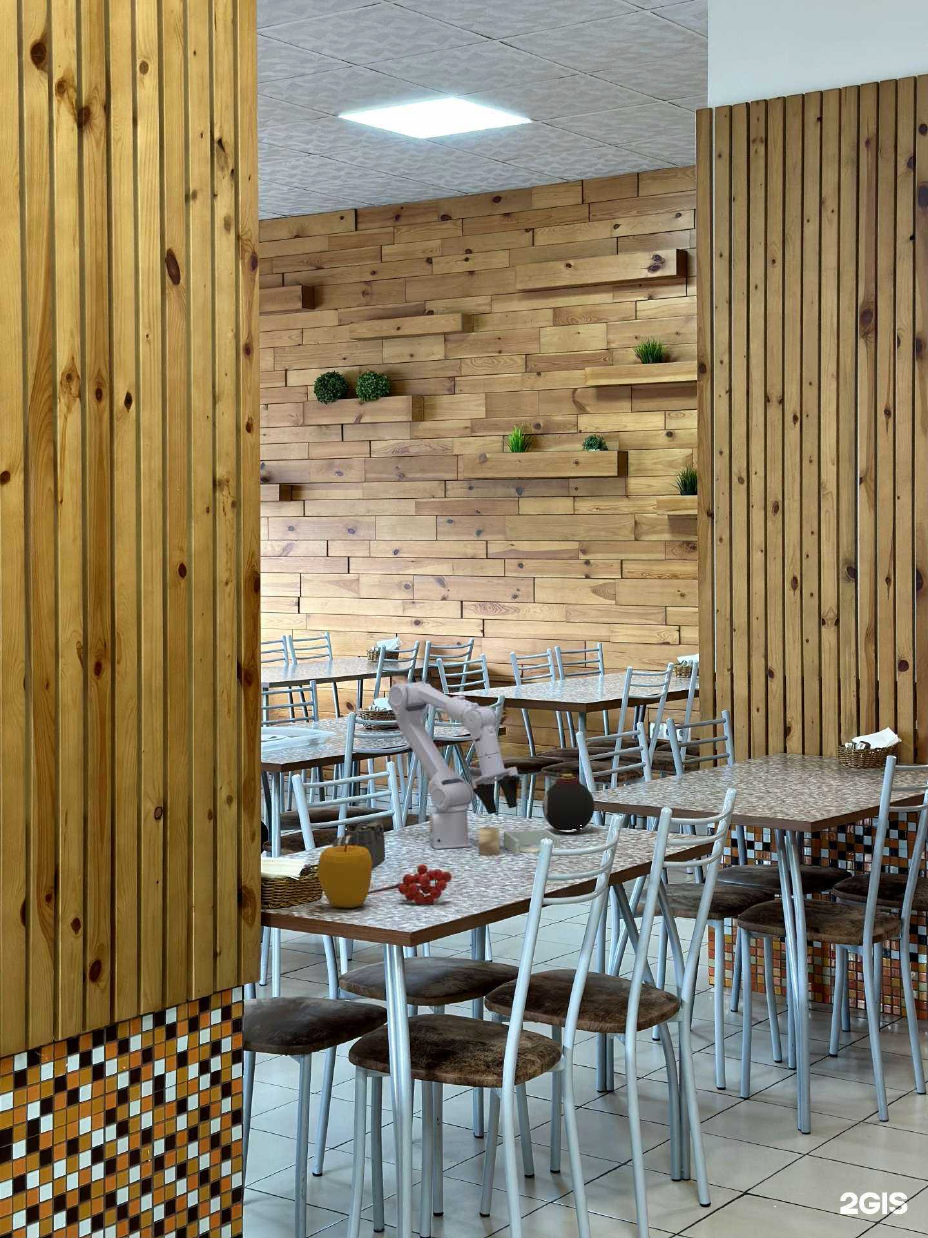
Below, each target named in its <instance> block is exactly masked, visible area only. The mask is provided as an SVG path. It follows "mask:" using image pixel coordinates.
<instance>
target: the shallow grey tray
mask: <svg viewBox="0 0 928 1238" xmlns="http://www.w3.org/2000/svg"><path fill="white" fill-rule="evenodd" d="M545 838H547V839H551V840H552V841H553V844H554V848H560V849H561V839H560V836H558V835H556V834H554V832H553V833H552V831H551V832H550V831H549V830H548V829H544V828H543V829H532V830H531V829H529V830H517V831H503V846H504V848H505V849H507V850H509V851H510V852H511V853H512V854H514V855H515V856H520V853H521V852H524V853H539V852H538V850H539V847H540V846H535V845H541V844H540V841H541V840H542V839H545ZM521 846H525V847H521ZM520 847H521V848H520Z"/></svg>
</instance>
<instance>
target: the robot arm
mask: <svg viewBox="0 0 928 1238" xmlns="http://www.w3.org/2000/svg"><path fill="white" fill-rule="evenodd" d="M387 704H388V705H389V708H390V709H391V711H392V712H393V714H394V716H395V719H396V723H397V725H398V728H399V729H400V731H401V733H402V735H403V736H404V738H405V740H406V741H407V743H408V745H409V746H410V748H411V750H412V751H413V753H414V754H415V756H416V758H417V759H418V761H419V763H420V764H421V766H422V768H423V769H424V771H425V773H426V774H427V776H428V778H429V779H430V782H429V783H428V785H427V788H426V789H427V791H428V793H429V796H430V799H431V803H432V806H434V808H435V810H434V811H429V812H430V813H429V816H428V817H429V818H428V819H429V821H428V822H429V845H430V846H431V847H432V848H434V849H435V850H441V849H455V848H456V849H457V848H469V847H473V844H472V843H471V842H470V841H469V826H468V809H470V805H471V803H472V802H473V799H474V795H476V796H477V797H478V799H479V800H480V801H481V803H482V804H483V806H484V808H485V810H486V812H487V814H488V815H492V814H497V805H496V800H495V785H496V784H495V783H494V782H497V783H498V785H499V786H500V789H501V790H502V793H503V795H504V798H505V801H506V804H507V807H508V809H513V808H517V807H518V803H517V802H518V788H519V785H520V783H519V782H520V780H521V779H520V778H521V777H520V776H517V775H519V773H518V769H517V766H513V767H507V768H505V765H504V761H503V756H502V752H501V748H500V745H499V740H498V737H497V733H496V728H495V727H496V726H497V723H498V714H497V712H496V711H495V710H494V708H492V707H491V706H489V705H486V706H483V707H481V706H479V704H478V703H477V702H471V701H469V700H467V699H466V696H464V695H456V696H453V697H450V696H449V695H447V694H445V693H443V692H441V691H439V690H437V689H436V688H435V687H432V685H431V684H430V683H426V682H425V681H417V682H409V683H408V682H407V683H394V684H392V686H390V688H389V691H388V698H387ZM428 705H431V706H433V707H436V708H438V709H440V710H443V711H445V714H446V716H447V718H449V719H452V720H454V721H456V722H458V723H460V724H462V725H463V726H464V727H465V729H466V731H468V732H469V735H470V738H471V739H472V740H473V744H474V748H475V752H476V757H477V761H478V764H479V768H480V773H481V775H480V776H479V777H477V778H475V779H472V780H471V782H472V785H471V784H470V783H469V782H468V781H466V780H465V779H464V778H463V776H462V775H461V774H459V773H458V772H456V771H453V770H452V769H450V767H449V765H448V763H447V762H446V761H445V759H444V758H443V755H442V754H441V752H440V751H439V748H438V747H437V745H436V744H435V742H434V741H433V740H432V738H431V736H430V735H429V733H428V731H427V730H426V728H425V726H424V725H423V723H422V720H421V719H422V718H423V717H424V716H425V713H426V710H427V707H428ZM472 786H473V787H472Z"/></svg>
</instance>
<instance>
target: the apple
mask: <svg viewBox="0 0 928 1238" xmlns="http://www.w3.org/2000/svg"><path fill="white" fill-rule="evenodd" d="M372 870H373V869H372V859H371V855H370V853H369V851H368V849H366V848H365V847H360V846H347V844H345V846H335V847H333V846H329V847H327V848H325V849H323V850H322V852H320V855H319V859H318V864H317V877H318V881H319V884H320V887H321V889H322V891H323V893H324V895H325V897H326V899H327V900H328V902H329V903H328V904H330V905H332V906H333V907H337V908H338V907H339V908H345V909H352V908H358V907H362V906H363V905H364V903H365V902H366V899H367V897H368V895H369V894H368V892H369V891H370V888H371V881H372V874H373V873H372V872H373V871H372Z"/></svg>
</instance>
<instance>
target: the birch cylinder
mask: <svg viewBox="0 0 928 1238" xmlns="http://www.w3.org/2000/svg"><path fill="white" fill-rule="evenodd" d="M477 831H478V832H477V833H478V834H477V835H478V836H477V837H478V855H479V856H484V857H490V856H491V857H492V856H493V855H494V856H497V855H500V854H501V851H500V847H501V846H500V828H498V827H493V826H492V827H491V826H489V827H487V826H486V827H480V828H477Z"/></svg>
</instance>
